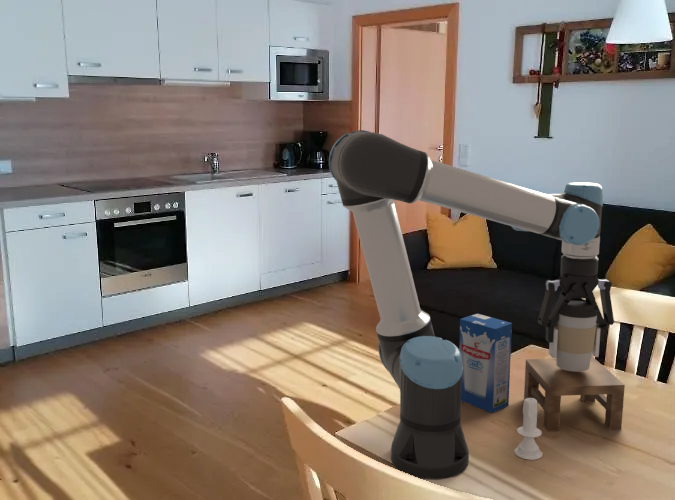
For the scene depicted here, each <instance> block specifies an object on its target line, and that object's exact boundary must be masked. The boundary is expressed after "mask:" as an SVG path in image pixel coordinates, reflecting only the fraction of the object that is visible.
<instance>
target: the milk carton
mask: <svg viewBox="0 0 675 500" xmlns="http://www.w3.org/2000/svg"><path fill="white" fill-rule="evenodd" d="M512 326H513V323H512V322H509V321H506V320H502V319H498V318H495V317H491V316H487V315H484V314H481V313H475V314H471V315H469V316H465V317H462V318H460V319H459V348H458V349H459V351H460V353H461V357H462V366H463V373H462V387H461V402H463V403H466V404H468V405H471V406H472V407H475V408H477V409H481V410H482V411H486V412H488V413H490V414H493V413H496V412H498V411H500V410H501V409H502V410H503V409H504V408H506V407H508V406H509V403H510V402H509V401H510V400H509V399H510V383H511V382H510V380H511V376H510V374H511V356H512V355H511V353H512V352H511V351H512V335H513V334H512V332H513V331H512V329H513V327H512Z"/></svg>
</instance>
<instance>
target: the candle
mask: <svg viewBox="0 0 675 500" xmlns="http://www.w3.org/2000/svg"><path fill="white" fill-rule="evenodd" d="M522 414H523V417H522V418H523V419H522V420H523V421H522V426H519V427H518V428H517V429H516V431H517V434H519V435H520V436H522V437H524V438H523V439H522V440H521V442H520V443H518V446H517V447H515V448H514V454H515V455H516V456H518V457H519V458H521V459H523V460H524V459H525V460H529V461H534V460H538V459H541V458H542V457H543V452H542V450H540V449H539V447H540V446H539V445H538V444H537V443H536V440H535V438H538V437H540V436H541V435H543V434H542V433H543V432H542V430H541V429H539V428H538V427H537V424H538V421H537V419H538V404H537V400H536V399H534V398H526V399H525V400H524V399H523V407H522Z"/></svg>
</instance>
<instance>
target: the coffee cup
mask: <svg viewBox="0 0 675 500" xmlns="http://www.w3.org/2000/svg"><path fill="white" fill-rule="evenodd" d="M598 308H599V307H598ZM598 308H595V307H594V304H589V303H588V302H587V301H586V299H585V298H580V297H579V298H572V299H571V301H570V302H569V303H568V304H565V305H564V306H563V308H562V309H560V310H559V311H560V312H559V313H558V314H559V321H558V322H557V324H556V326H555V327H556V328H557V329H558V342H557V358H555V359H556V365H557V366H558V367H559V368H561V369H564V370H567V371H575V372H581V371H586V370H588V369H589V366H590V360H591V358H592V354H591V353H592V351H593V345H594V339H595V332H596V319H597V315H598Z"/></svg>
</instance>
